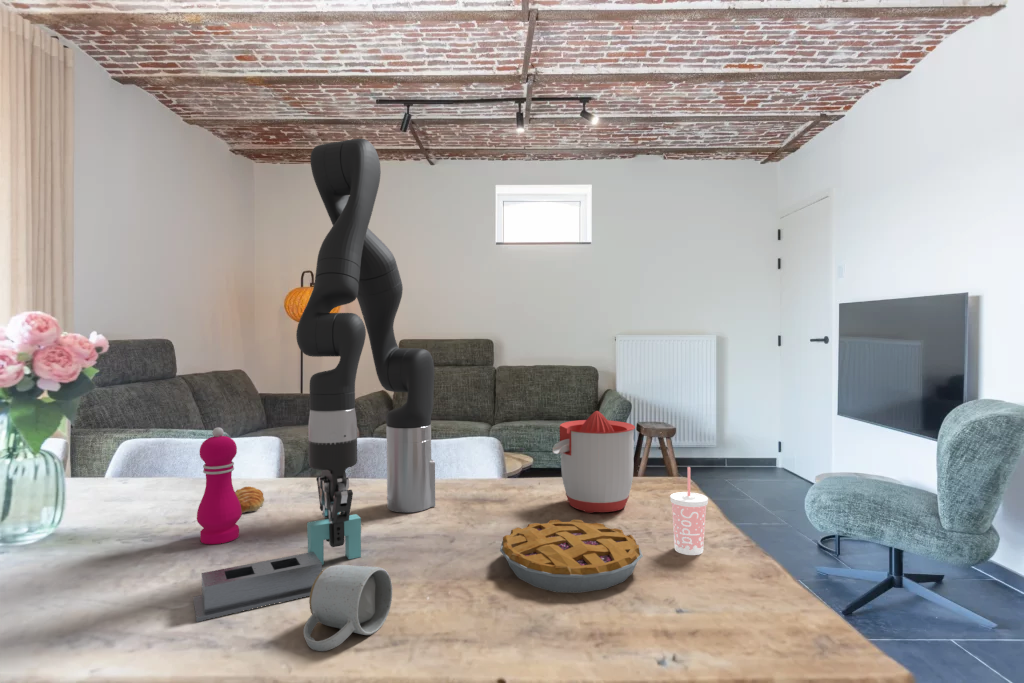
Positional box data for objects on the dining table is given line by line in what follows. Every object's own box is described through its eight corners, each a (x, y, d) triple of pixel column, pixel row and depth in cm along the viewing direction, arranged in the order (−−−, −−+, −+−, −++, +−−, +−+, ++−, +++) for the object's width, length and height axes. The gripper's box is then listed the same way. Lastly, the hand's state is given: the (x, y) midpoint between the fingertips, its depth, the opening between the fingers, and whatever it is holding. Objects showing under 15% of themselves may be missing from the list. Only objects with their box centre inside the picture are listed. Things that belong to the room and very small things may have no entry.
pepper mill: (224, 547, 103) (222, 431, 103) (187, 544, 105) (185, 430, 104) (250, 533, 110) (248, 424, 110) (216, 530, 112) (214, 423, 111)
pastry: (267, 512, 124) (266, 494, 123) (231, 517, 120) (230, 498, 120) (262, 500, 132) (261, 483, 132) (228, 505, 129) (227, 487, 129)
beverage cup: (664, 551, 100) (664, 468, 100) (678, 540, 105) (678, 461, 105) (700, 559, 97) (700, 473, 96) (713, 548, 101) (713, 466, 101)
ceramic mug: (342, 607, 81) (340, 551, 81) (394, 617, 78) (393, 559, 78) (286, 647, 71) (284, 584, 71) (343, 661, 68) (341, 595, 68)
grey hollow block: (319, 574, 92) (318, 548, 92) (330, 591, 86) (330, 563, 86) (193, 601, 83) (192, 572, 83) (196, 622, 77) (196, 591, 77)
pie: (545, 612, 80) (545, 574, 79) (478, 556, 99) (477, 526, 99) (671, 579, 90) (671, 546, 90) (587, 534, 109) (587, 507, 109)
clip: (357, 552, 100) (356, 514, 100) (361, 557, 98) (360, 518, 98) (307, 562, 96) (307, 522, 96) (311, 567, 94) (310, 526, 94)
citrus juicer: (542, 499, 131) (541, 408, 130) (614, 492, 136) (614, 404, 135) (568, 521, 116) (568, 418, 115) (649, 513, 121) (649, 414, 120)
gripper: (369, 441, 93) (370, 552, 93) (344, 428, 105) (345, 526, 105) (319, 446, 89) (321, 562, 89) (299, 432, 101) (301, 534, 101)
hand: (334, 542), depth 97 cm, fingers closed on clip, 2 cm apart
